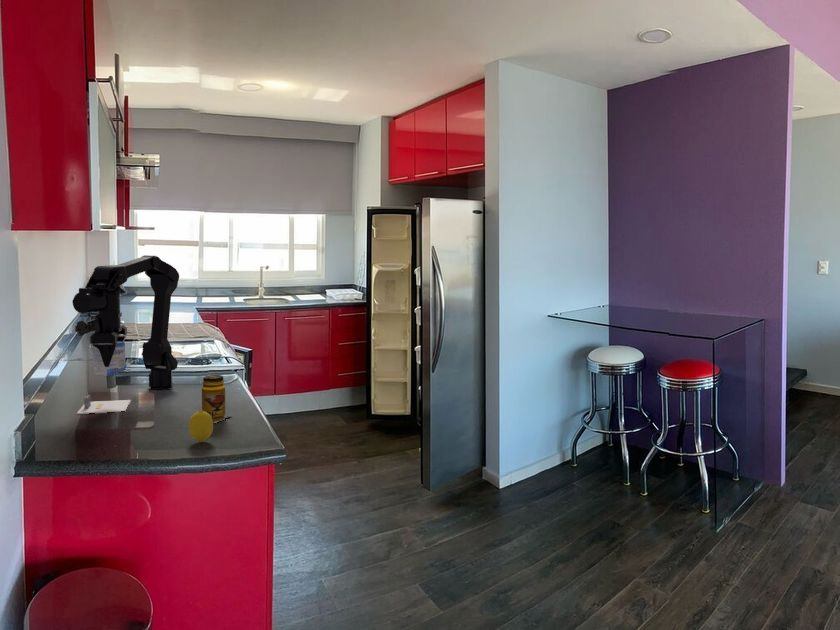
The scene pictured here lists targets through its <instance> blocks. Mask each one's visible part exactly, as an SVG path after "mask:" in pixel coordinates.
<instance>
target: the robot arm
mask: <svg viewBox="0 0 840 630" xmlns="http://www.w3.org/2000/svg"><path fill="white" fill-rule="evenodd" d="M142 273H144V274H145V275H146V277H148V278H149V280H150V282H149V283H150V284H149V286H150V287H151V289H152V291H153V293H154V298H153V307H152V308H153V309H152V317H151V318H152V320H151V329H150V337H149V339H148V341H146V342H143V343H142V352H141V356H142V361H143V364H144V368H145V370H150V372H149V373H148V387H149V390H168V389H169V390H170V389H173V386H174V382H173V371H175V370H176V369H178V365H179V364H178V363H179V362H178V360H177V359H176V357H175V356H174V355H173V354H172V352H173V351H172V349H173V348H172V346H171V343H170V341H169V340H168V335H169V334H168V333H169V324H170V323H169V322H170V314H171V313H170V312H171V303H172V302H171V301H172V295H173V294H174V292H175V291H176V289H177V288H178V284H179V279H180V273H179V272H178V270H177V269H176V268H175V267H173V266H172V265H171V264H170V263H168V262H166V261H163V260H162V259H161V258H160V257H159V256H157V255H149V254H148V255H147V254H146V255H142V256H140V257H138V258H135V259H131V260H129V261H125V262H122V263H119V264H110V265H109V264H108V265H107V264H106V265H98V266H97V265H96V267H94V269H93V272H92V273H91V275H90V277H89V278H88V281H87V284H85V287H79V288H78V292H77V293H76V294H75V295H74V297H73V299H72V306H73V308H74V310H75V311H76V312H77V313H80V314H87V313H95V312H97V313H96V314H95V315H94V319H90V320H88V321H86V320H85V319H82V320H80V321H79V320H78V321H77V322H76V325H74V328H75V330H74V331H75V332H76V333H77V335H78V337H82V336H84V335H85V334H86V335H87V334H88V333H92V332H94V333H93V334H92V335H90V336H89V342H90V344H91V345H92V347H93V346H95V347H96V348H98V349H99V351H100V354H101V357H102V360H103V363H104V366H105V367H109V365H110V362H111V360H112V357H113V354H114V351H115V349H116V346H117V343H116V342H117V341H120V342H124V341H125V340H126V337H127V335H128V328H127V326H125V325H124V324H121V317H122V316H123V315H122V314H123V313H122V312H121V299H120V298H121V295H122V294H125V293H126V290H124V289H123V288H122V287H121V286H122V285H124V284H126V282H127V281H128V279H129V278H131V277H134V276H137V275H139V274H142Z"/></svg>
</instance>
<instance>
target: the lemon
mask: <svg viewBox="0 0 840 630" xmlns="http://www.w3.org/2000/svg"><path fill="white" fill-rule="evenodd" d="M213 430H214V424H213V421H212V417H211V416H210V414H208V413H207V412H205V411H203V410H202V409H199V410H198V411H196V412H195V413H193V414H192V415H191V417H190V419H189V422H188V431H189V435H190V436H191V438H193V439H194V440H196V441H198V442H199V443H203V442H204V441H205V440H207V439H209V438H210V436H211V435H212V434H213Z"/></svg>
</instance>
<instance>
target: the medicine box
mask: <svg viewBox="0 0 840 630" xmlns="http://www.w3.org/2000/svg"><path fill="white" fill-rule="evenodd" d="M116 343H117V346H116V349H115V351H114V354H113V357H112V360H111V362H110V365H109V367H105V366H104V363H103V360H102V357H101V354H100V351H99V349H98V348H96V347H95V346H93V345H92V358H93V359H92V360H93V375H95V376H96V375H97V376H105V377H108V376H111V375H115V374H117V373H122V372H125V371H127V370H126V368H127V366H126V343H125V342H120V341H117V342H116Z"/></svg>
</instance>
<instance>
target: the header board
mask: <svg viewBox="0 0 840 630" xmlns="http://www.w3.org/2000/svg"><path fill="white" fill-rule="evenodd" d="M91 400H92V399H91V394H86V395H85V397H84V398H83V402H84V403H83V405H82V406H81V407H80V408H79V409H78V411H77V412H76V415H90V414H89V413H95V414H108V413H107V412H115V413H122V412H121V411H125V412H126V411H127V410H126V409H128V408H129V406H130V404H131V402H132V399H125V400H124V399H121V400H120V399H119V400H118V399H117V400H99V401H94V400H93V401H91ZM128 405H129V406H128ZM127 407H128V408H127Z"/></svg>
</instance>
